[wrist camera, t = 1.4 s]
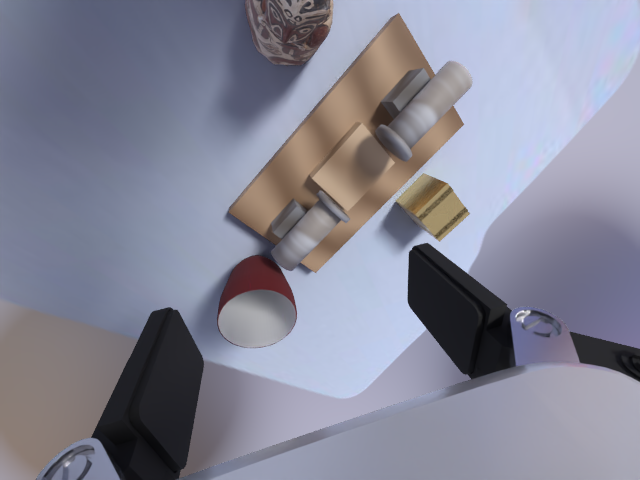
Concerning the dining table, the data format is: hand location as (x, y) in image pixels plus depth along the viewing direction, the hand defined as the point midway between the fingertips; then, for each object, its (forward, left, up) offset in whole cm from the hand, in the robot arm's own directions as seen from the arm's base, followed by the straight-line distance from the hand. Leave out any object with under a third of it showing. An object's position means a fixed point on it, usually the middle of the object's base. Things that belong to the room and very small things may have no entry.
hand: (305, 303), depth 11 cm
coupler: (-11, +18, -23) cm, 31 cm away
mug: (+12, +7, -23) cm, 27 cm away
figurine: (-12, -8, -23) cm, 27 cm away
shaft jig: (-7, +6, -23) cm, 25 cm away
